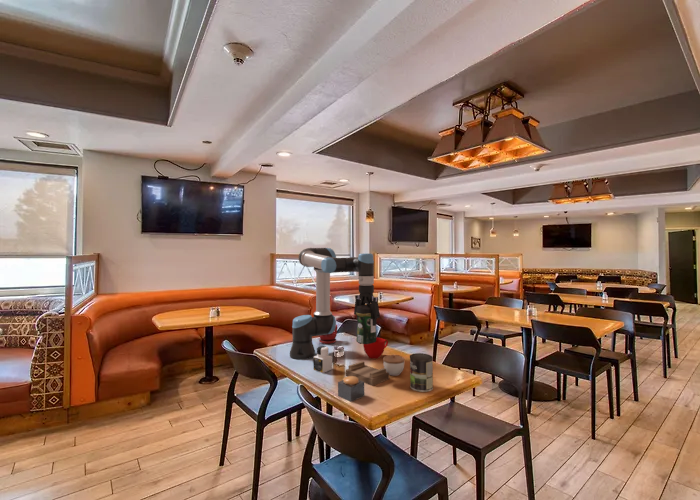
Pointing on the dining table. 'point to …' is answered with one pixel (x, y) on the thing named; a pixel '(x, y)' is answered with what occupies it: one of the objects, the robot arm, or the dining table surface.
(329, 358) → the medicine bottle
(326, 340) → the plant pot
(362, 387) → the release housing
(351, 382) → the release button
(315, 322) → the robot arm
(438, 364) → the dining table surface
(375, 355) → the ceramic cup
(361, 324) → the coffee jar
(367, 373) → the cradle rack
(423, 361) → the coffee can
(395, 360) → the lidded jar
